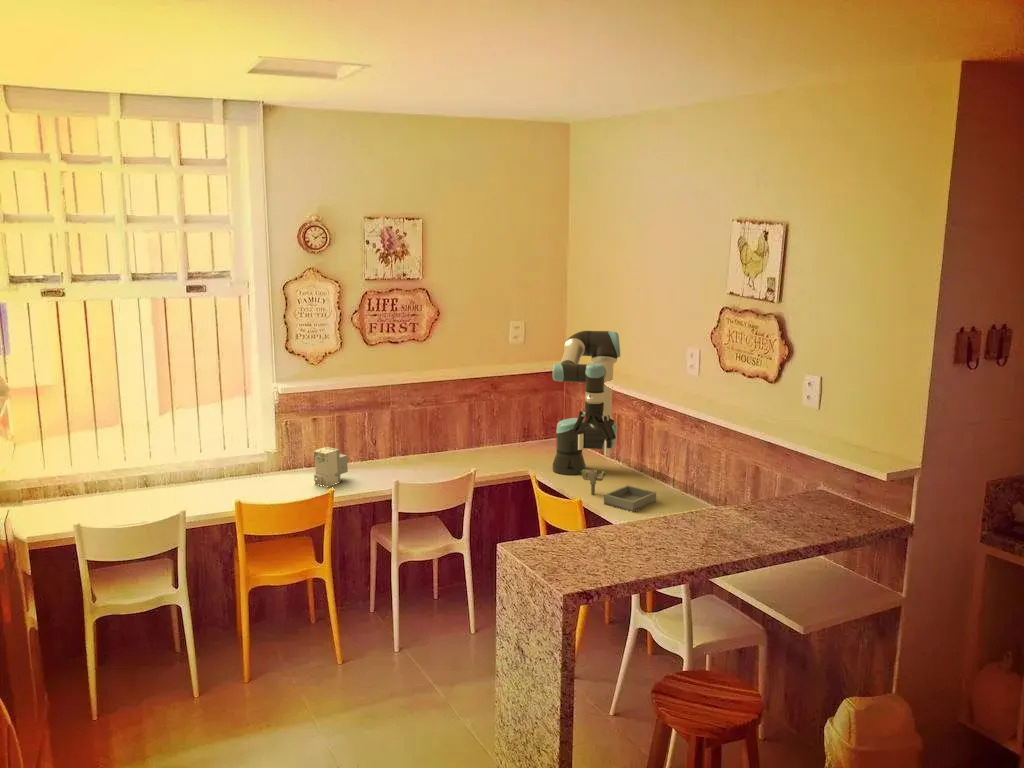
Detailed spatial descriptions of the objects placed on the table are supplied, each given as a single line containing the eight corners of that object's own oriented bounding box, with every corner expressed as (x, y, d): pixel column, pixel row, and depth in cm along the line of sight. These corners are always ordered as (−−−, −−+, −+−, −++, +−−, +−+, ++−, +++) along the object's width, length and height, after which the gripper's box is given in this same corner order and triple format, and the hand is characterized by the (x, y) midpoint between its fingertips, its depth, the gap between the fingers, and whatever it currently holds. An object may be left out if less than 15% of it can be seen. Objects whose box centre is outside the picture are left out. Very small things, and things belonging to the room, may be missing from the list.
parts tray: (627, 494, 368) (627, 485, 367) (655, 502, 358) (656, 492, 358) (604, 504, 356) (604, 494, 355) (632, 512, 347) (633, 502, 346)
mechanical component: (604, 495, 366) (605, 472, 364) (580, 494, 368) (580, 471, 366) (605, 493, 369) (606, 470, 367) (581, 491, 371) (581, 469, 369)
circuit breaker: (350, 479, 388) (349, 446, 385) (326, 487, 377) (325, 453, 374) (338, 476, 393) (337, 443, 390) (314, 484, 381) (312, 450, 378)
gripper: (564, 398, 366) (564, 448, 370) (614, 408, 349) (612, 460, 354) (576, 395, 371) (575, 444, 376) (625, 404, 355) (623, 456, 359)
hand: (593, 452), depth 365 cm, fingers open, 13 cm apart
